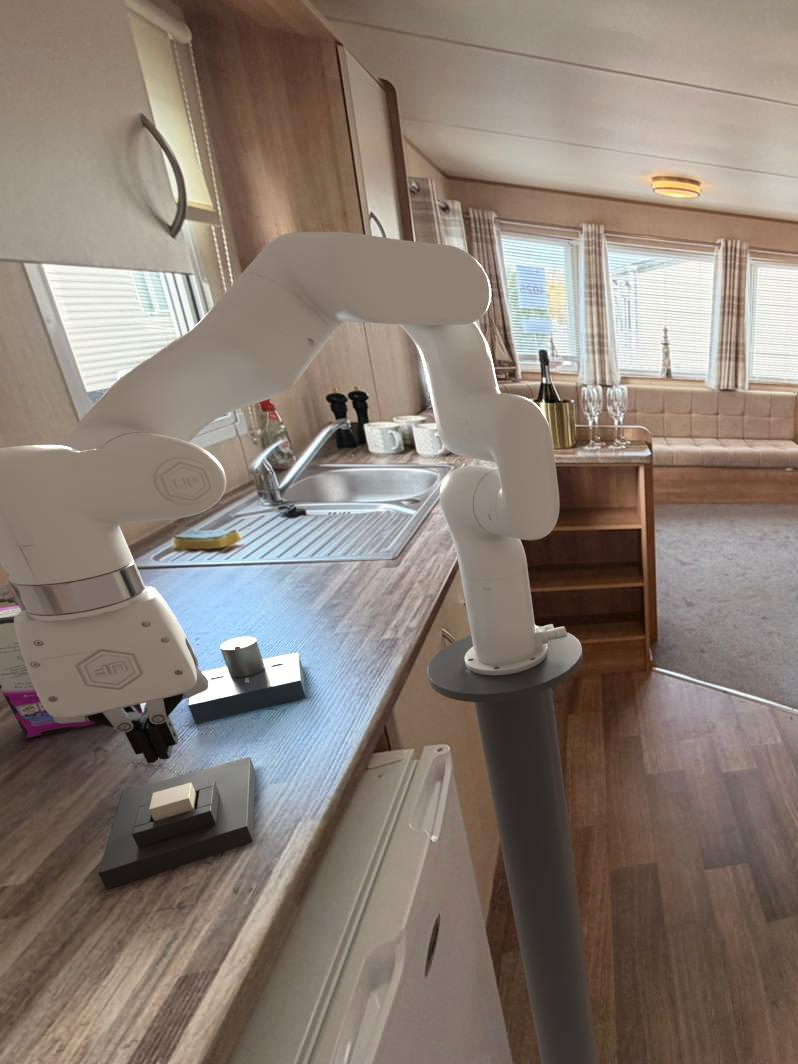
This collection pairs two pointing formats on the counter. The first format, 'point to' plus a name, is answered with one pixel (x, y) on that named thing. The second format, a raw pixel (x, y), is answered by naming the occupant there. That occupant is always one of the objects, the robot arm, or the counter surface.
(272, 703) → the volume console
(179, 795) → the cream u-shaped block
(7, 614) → the candy bar box
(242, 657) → the volume dial
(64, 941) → the counter surface
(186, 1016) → the counter surface
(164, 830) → the stepped base plate
